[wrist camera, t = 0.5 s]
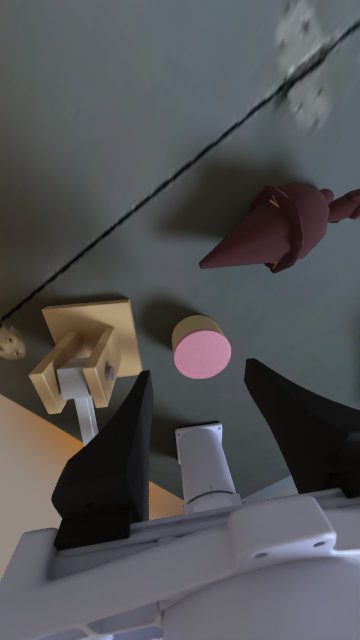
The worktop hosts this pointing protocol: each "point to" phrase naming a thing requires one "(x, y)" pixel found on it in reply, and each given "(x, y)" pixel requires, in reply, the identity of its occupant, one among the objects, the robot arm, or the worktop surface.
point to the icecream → (282, 226)
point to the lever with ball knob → (79, 395)
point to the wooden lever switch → (88, 349)
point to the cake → (199, 347)
